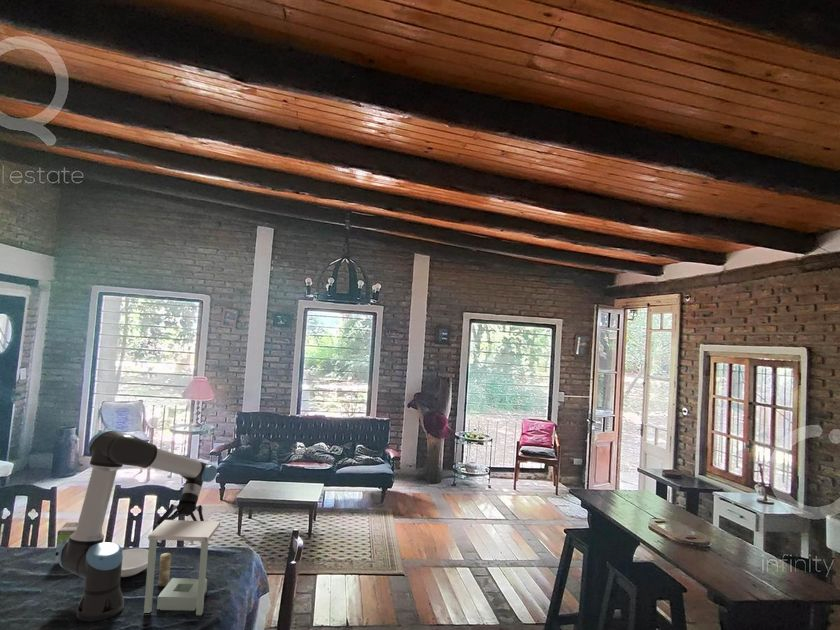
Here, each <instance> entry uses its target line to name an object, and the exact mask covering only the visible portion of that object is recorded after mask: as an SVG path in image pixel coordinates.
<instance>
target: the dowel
mask: <svg viewBox="0 0 840 630" xmlns="http://www.w3.org/2000/svg"><path fill="white" fill-rule="evenodd" d="M171 561H172V554H171V553H170V552H164V553H161V554H160V556H159V571H158V583H157V585H158V586H159V587H166V585H167V584H168V583H169V582H170V573H171Z"/></svg>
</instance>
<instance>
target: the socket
mask: <svg viewBox="0 0 840 630" xmlns="http://www.w3.org/2000/svg"><path fill="white" fill-rule="evenodd" d="M220 526H221V521H214V520H213V521H211V520H210V521H208V520H207V521H205V520H204V521H200V520H197V521H193V520H183V519H182V520H180V519H178V520H175V519H174V520H164V521H163V522H162V523H161V524H160V525H159V526H158V525H157V526H156V527H155V529H154V530H153V531H151V533H149V534H148V536H147V540H148V541H149V542H148V550H149V552H148V565H147V568H146V579H145V595H144V607H143V614H144V613H150V612H151V613H152V609H153V608H152V607H153V595H154V586H155V585H154V584H155V573H156V570H155V569H156V559H157V558H156V557H157V543H158V540H162V541H184V542H185V541H186V542H187V541H188V542H190V541H194V542H200V543H201V544H200V556H199V557H200V558H199V567H198V569H199V571H198V578H180V577H179V578H178V577H172V578H171V579H169V583H168V584H167V585H166V586H164V588H163V589H162V590H161V591H160V593H159V595H158V596H157V602H156V603H157V604H156V605H157V606H156V610H157V609H158V610H159V609H160V610H159V611H195V615H196V616H202V614H203V613H204V602H205V595H206V592H207V588H208V579H207V566H208V565H207V564H208V552H209V541H210V540H211V538H212V537H213V535H214V534H215V533H216V531H218V529H219V528H220ZM158 610H157V611H158ZM151 613H150V614H151Z"/></svg>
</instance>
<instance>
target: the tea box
mask: <svg viewBox="0 0 840 630" xmlns="http://www.w3.org/2000/svg"><path fill="white" fill-rule="evenodd" d="M77 525H78V521H77V522H72V521H71V522H70V521H69V522H65V523H64V525H63V526H61V528H59V529H58V531H57V533H56V546H55V555H54V556H55V558H54V564H57V565H58V564H59V562H58V554H59V551H60V549H61V547H62V545H64V544H65V542H66V541H67V540H69V538H70V535H71V534H73V533H74V532H75V531H76V529H77ZM101 533H102V534H103V529H102V530H101Z"/></svg>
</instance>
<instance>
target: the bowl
mask: <svg viewBox="0 0 840 630" xmlns="http://www.w3.org/2000/svg"><path fill="white" fill-rule="evenodd" d="M148 552H149V549H147V548H141V547H140V548H129V549H122V555H123V560H122V568H121V578H128V577H132V576H135V575H137V574H140V573H141V572H143V571H144V570H145V569H146V570H147V565H148Z"/></svg>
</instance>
